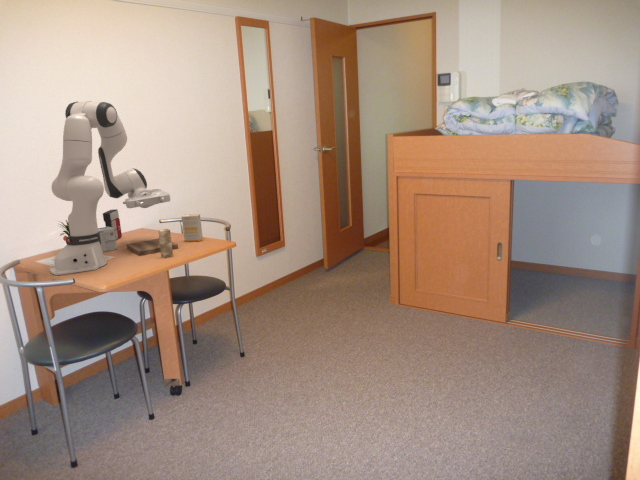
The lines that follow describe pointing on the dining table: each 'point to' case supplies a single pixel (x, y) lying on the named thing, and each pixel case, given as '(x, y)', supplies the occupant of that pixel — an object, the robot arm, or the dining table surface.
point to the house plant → (65, 228)
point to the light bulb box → (107, 238)
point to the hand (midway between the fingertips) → (152, 202)
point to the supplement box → (192, 227)
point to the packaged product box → (113, 222)
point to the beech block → (165, 243)
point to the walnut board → (148, 247)
